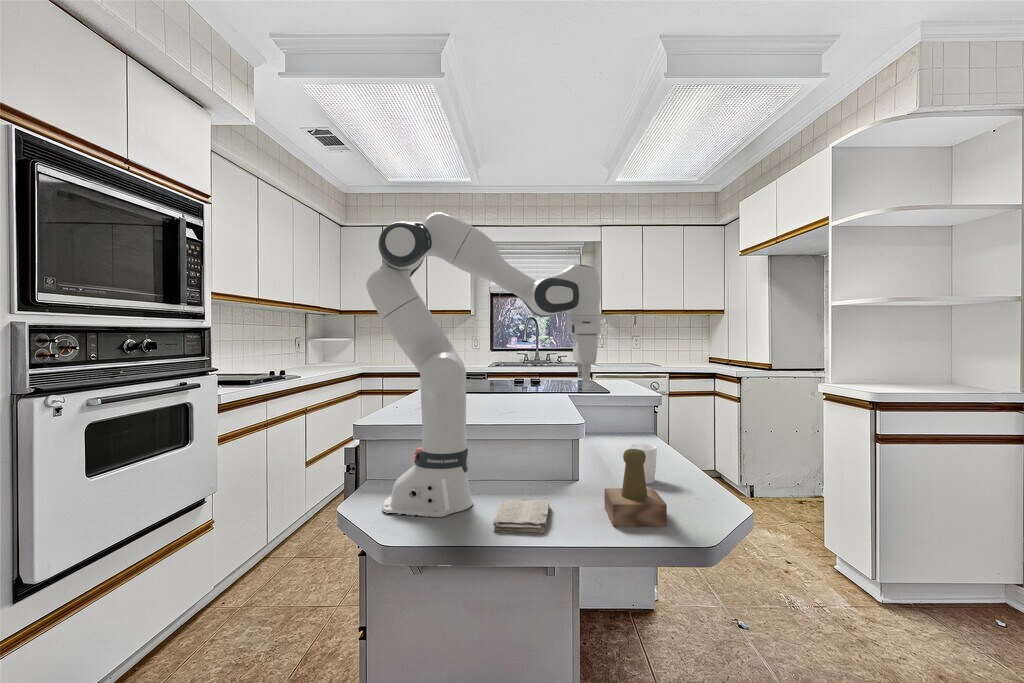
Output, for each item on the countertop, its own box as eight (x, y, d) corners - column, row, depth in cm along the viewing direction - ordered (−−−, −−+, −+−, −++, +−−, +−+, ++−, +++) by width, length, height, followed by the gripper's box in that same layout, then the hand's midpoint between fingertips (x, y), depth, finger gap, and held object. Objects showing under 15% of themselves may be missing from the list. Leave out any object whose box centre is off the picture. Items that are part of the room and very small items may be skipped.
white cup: (656, 485, 151) (656, 450, 150) (628, 483, 153) (628, 448, 152) (656, 478, 158) (657, 444, 158) (629, 476, 160) (629, 443, 160)
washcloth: (491, 535, 116) (491, 521, 116) (502, 507, 134) (502, 495, 134) (546, 537, 115) (546, 522, 115) (549, 509, 133) (549, 496, 133)
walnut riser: (613, 526, 120) (613, 504, 119) (604, 508, 132) (604, 488, 131) (666, 526, 119) (666, 504, 119) (653, 508, 131) (653, 488, 131)
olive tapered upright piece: (648, 500, 122) (648, 452, 122) (622, 499, 123) (622, 452, 123) (646, 492, 128) (646, 447, 128) (620, 491, 129) (620, 446, 129)
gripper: (567, 327, 150) (568, 376, 150) (575, 327, 130) (575, 383, 130) (590, 327, 150) (590, 376, 150) (601, 326, 129) (601, 383, 130)
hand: (583, 379), depth 140 cm, fingers open, 8 cm apart
